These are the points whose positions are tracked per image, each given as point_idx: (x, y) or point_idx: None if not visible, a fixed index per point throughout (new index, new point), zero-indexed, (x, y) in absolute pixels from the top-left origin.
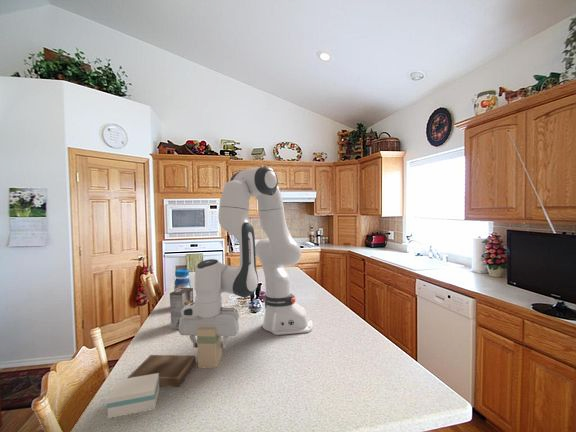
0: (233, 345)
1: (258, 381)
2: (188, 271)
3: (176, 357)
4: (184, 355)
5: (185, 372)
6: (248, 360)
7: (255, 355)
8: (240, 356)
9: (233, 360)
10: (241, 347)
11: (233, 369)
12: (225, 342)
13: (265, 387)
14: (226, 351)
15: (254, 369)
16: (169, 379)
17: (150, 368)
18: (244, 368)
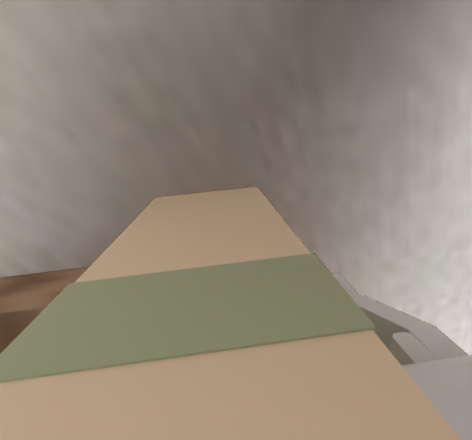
0: (291, 10)
1: (447, 325)
2: None
3: (17, 321)
4: (49, 294)
5: None
6: (411, 201)
7: (451, 145)
8: (365, 167)
9: (332, 212)
10: (359, 41)
11: (346, 279)
12: (354, 296)
13: (466, 345)
14: (264, 117)
15: (437, 265)
16: None
17: None
18: (394, 265)
